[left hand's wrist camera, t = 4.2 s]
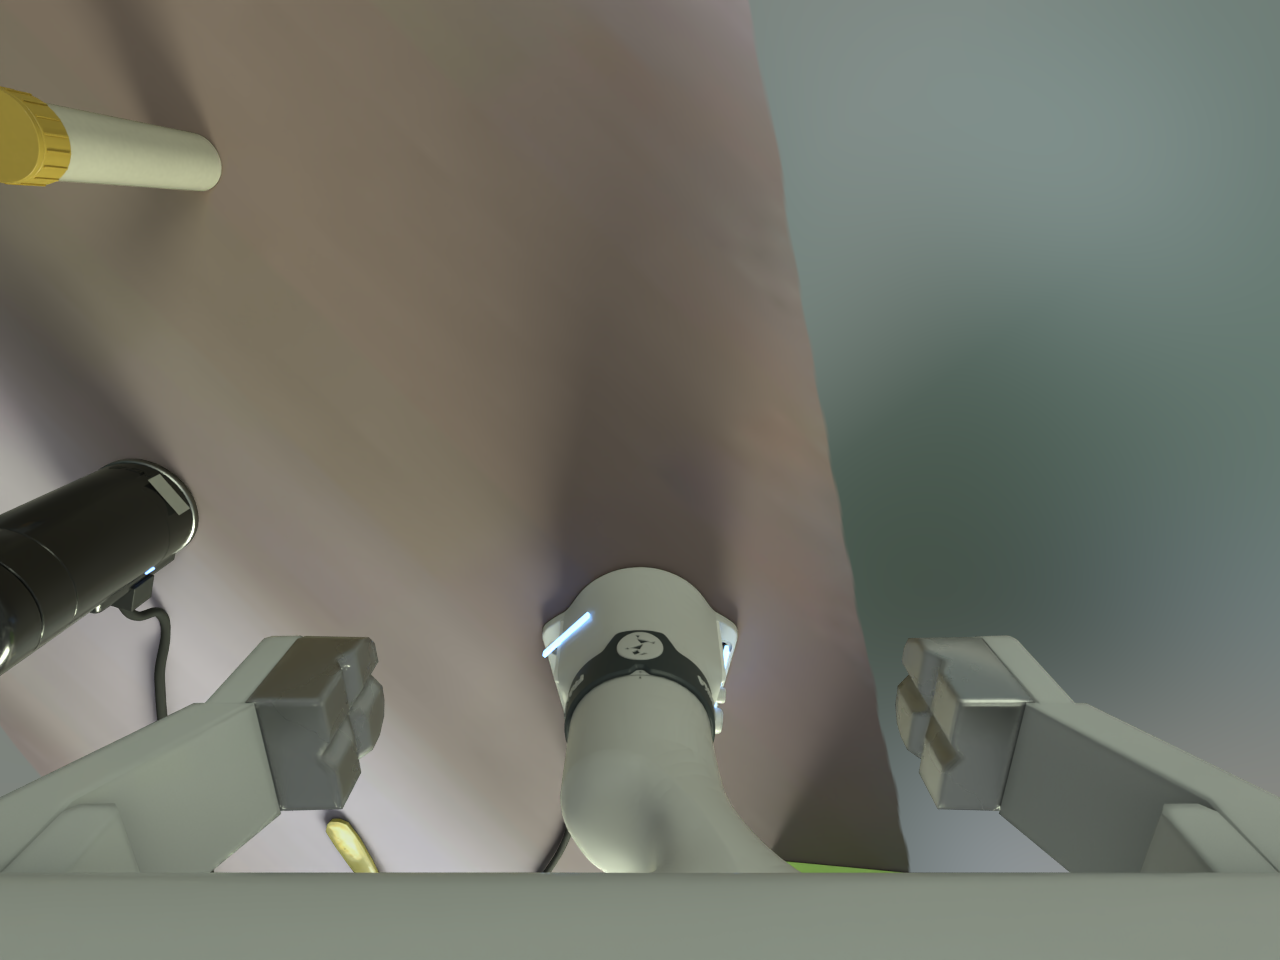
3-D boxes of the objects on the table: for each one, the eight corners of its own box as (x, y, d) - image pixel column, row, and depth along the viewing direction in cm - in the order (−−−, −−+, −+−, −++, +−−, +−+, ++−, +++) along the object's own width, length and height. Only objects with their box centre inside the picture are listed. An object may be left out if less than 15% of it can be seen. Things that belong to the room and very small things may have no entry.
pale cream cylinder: (172, 122, 51) (-38, 77, 35) (226, 146, 51) (45, 113, 36) (162, 177, 52) (-44, 157, 36) (216, 200, 52) (36, 190, 37)
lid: (-14, 73, 36) (-53, 64, 34) (78, 114, 37) (45, 107, 35) (-22, 163, 38) (-60, 159, 36) (67, 200, 39) (35, 199, 37)
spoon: (299, 820, 77) (290, 835, 75) (382, 793, 75) (375, 807, 73) (439, 1029, 86) (434, 1047, 84) (515, 1008, 85) (512, 1026, 83)
